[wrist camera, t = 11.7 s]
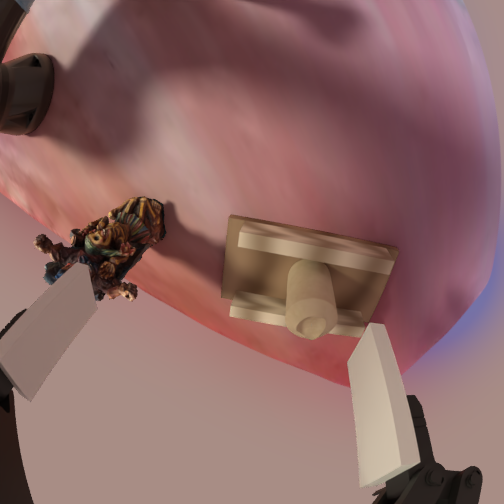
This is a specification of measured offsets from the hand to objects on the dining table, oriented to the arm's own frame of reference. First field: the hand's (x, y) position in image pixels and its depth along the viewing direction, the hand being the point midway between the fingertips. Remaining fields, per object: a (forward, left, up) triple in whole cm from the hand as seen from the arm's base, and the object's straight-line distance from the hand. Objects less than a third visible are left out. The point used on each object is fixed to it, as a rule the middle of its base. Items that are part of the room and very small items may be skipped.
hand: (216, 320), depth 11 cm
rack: (+7, -10, -23) cm, 26 cm away
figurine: (-16, -6, -23) cm, 29 cm away
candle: (+7, -10, -22) cm, 25 cm away
